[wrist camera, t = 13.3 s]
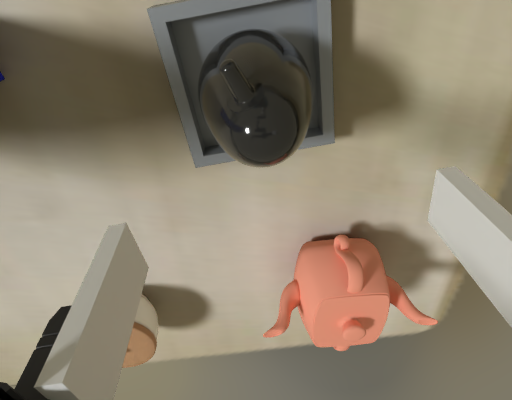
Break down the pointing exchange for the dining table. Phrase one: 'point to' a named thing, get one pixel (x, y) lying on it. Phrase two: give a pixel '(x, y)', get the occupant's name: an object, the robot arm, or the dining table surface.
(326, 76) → the tray
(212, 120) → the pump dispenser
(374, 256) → the teapot
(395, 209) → the dining table surface
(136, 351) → the lidded jar
